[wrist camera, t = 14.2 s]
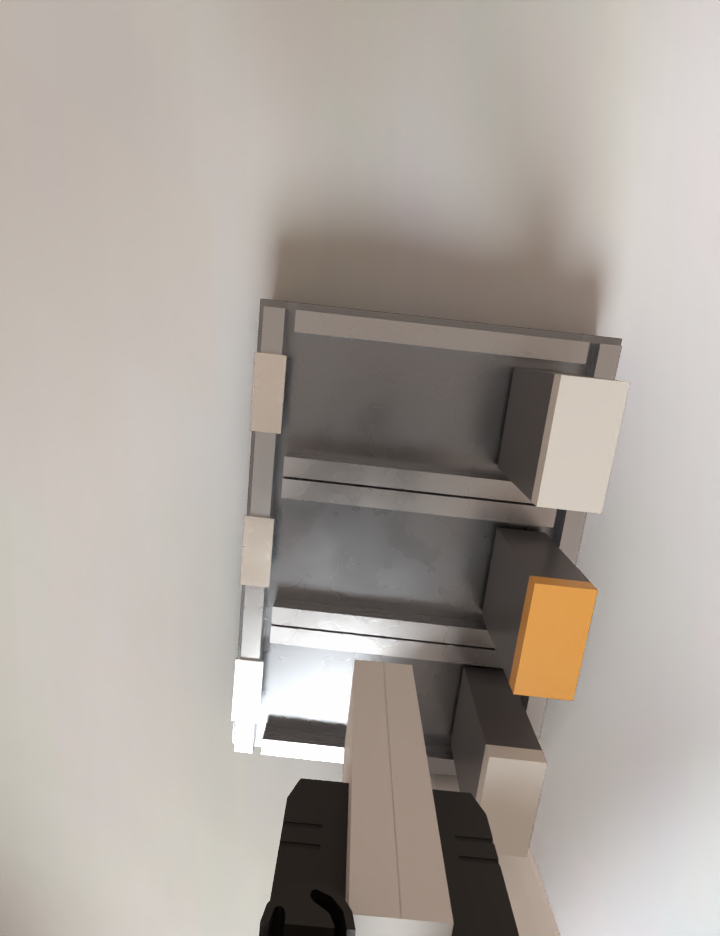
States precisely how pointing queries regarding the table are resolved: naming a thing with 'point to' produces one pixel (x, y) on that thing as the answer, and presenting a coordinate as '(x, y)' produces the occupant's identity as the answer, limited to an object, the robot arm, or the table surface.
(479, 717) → the block
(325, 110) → the table surface
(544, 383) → the block
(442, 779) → the cup
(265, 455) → the panel
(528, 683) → the block
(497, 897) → the robot arm
